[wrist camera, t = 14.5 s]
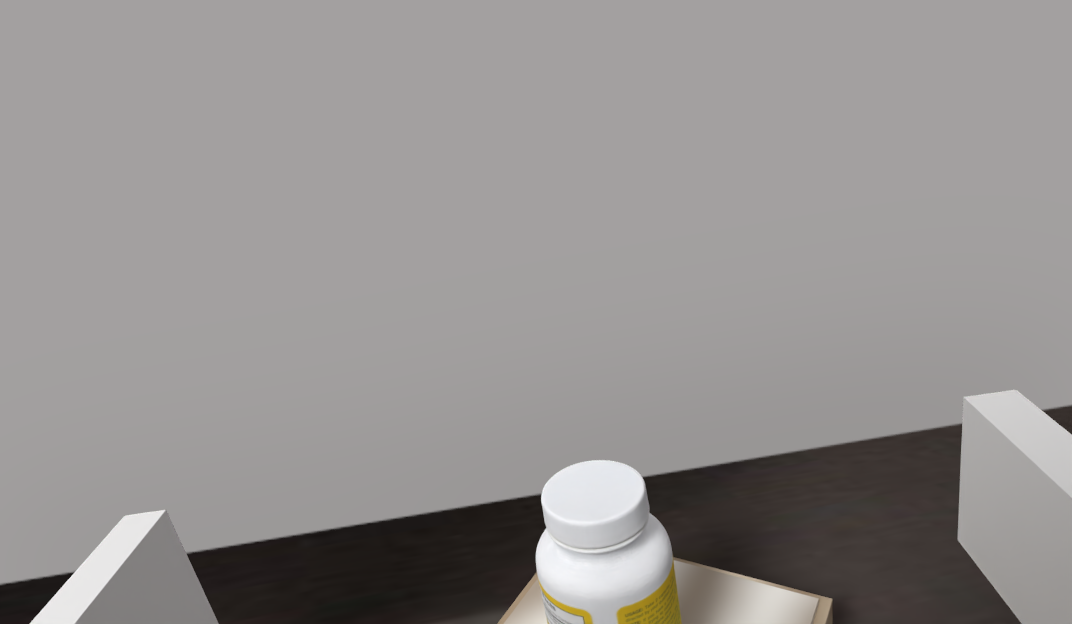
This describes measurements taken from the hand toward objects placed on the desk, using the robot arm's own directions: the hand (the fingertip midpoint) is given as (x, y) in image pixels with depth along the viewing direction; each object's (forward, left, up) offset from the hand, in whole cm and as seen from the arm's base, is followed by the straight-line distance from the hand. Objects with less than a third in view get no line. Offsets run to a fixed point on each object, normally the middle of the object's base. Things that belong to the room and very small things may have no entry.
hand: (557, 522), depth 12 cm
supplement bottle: (+6, -11, -19) cm, 23 cm away
